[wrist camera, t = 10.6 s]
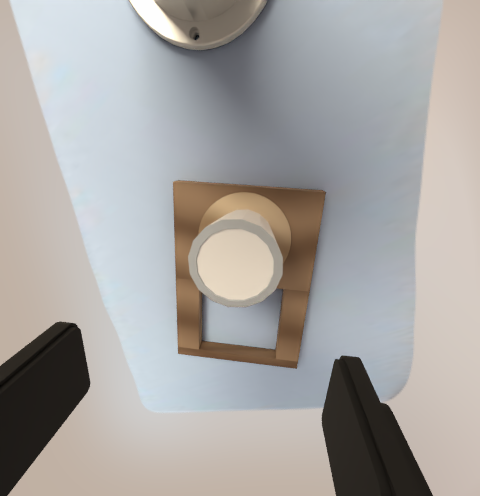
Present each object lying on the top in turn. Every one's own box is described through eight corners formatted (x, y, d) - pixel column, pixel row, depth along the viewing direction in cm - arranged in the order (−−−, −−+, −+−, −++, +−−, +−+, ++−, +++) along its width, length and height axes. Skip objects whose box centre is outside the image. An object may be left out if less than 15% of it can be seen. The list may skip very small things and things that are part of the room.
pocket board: (178, 180, 25) (171, 181, 24) (322, 190, 24) (326, 192, 23) (182, 345, 32) (177, 355, 30) (295, 358, 31) (297, 370, 29)
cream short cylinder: (218, 275, 26) (202, 314, 20) (200, 210, 24) (174, 230, 18) (285, 264, 25) (291, 301, 19) (271, 194, 23) (273, 209, 17)
